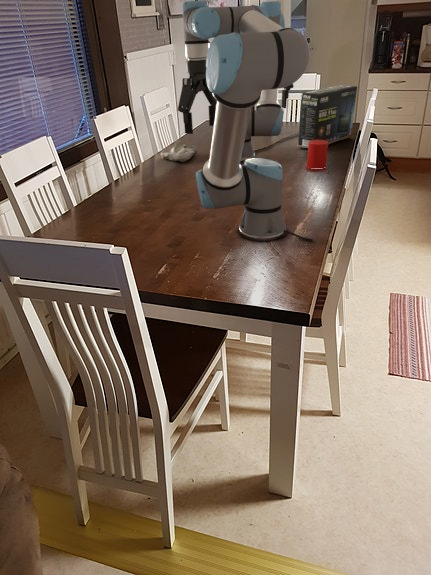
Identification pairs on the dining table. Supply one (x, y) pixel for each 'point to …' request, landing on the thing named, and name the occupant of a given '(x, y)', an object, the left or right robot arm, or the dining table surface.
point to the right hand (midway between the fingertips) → (201, 129)
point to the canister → (317, 155)
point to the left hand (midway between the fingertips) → (268, 109)
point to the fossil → (179, 152)
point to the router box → (326, 113)
